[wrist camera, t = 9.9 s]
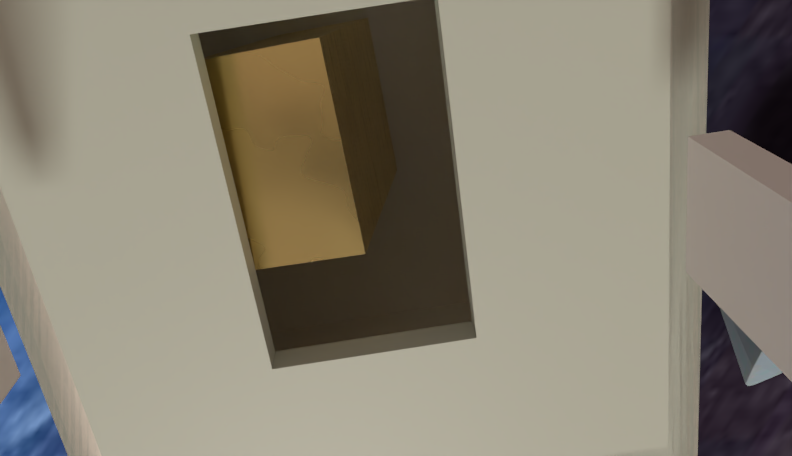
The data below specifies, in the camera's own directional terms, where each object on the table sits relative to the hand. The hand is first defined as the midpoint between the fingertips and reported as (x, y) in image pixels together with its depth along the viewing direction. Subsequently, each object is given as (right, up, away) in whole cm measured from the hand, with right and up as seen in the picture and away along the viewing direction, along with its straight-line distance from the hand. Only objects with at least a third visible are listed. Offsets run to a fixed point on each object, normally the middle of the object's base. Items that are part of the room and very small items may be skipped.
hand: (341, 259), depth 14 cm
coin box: (-1, +5, +12) cm, 13 cm away
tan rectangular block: (-1, +5, +11) cm, 12 cm away
